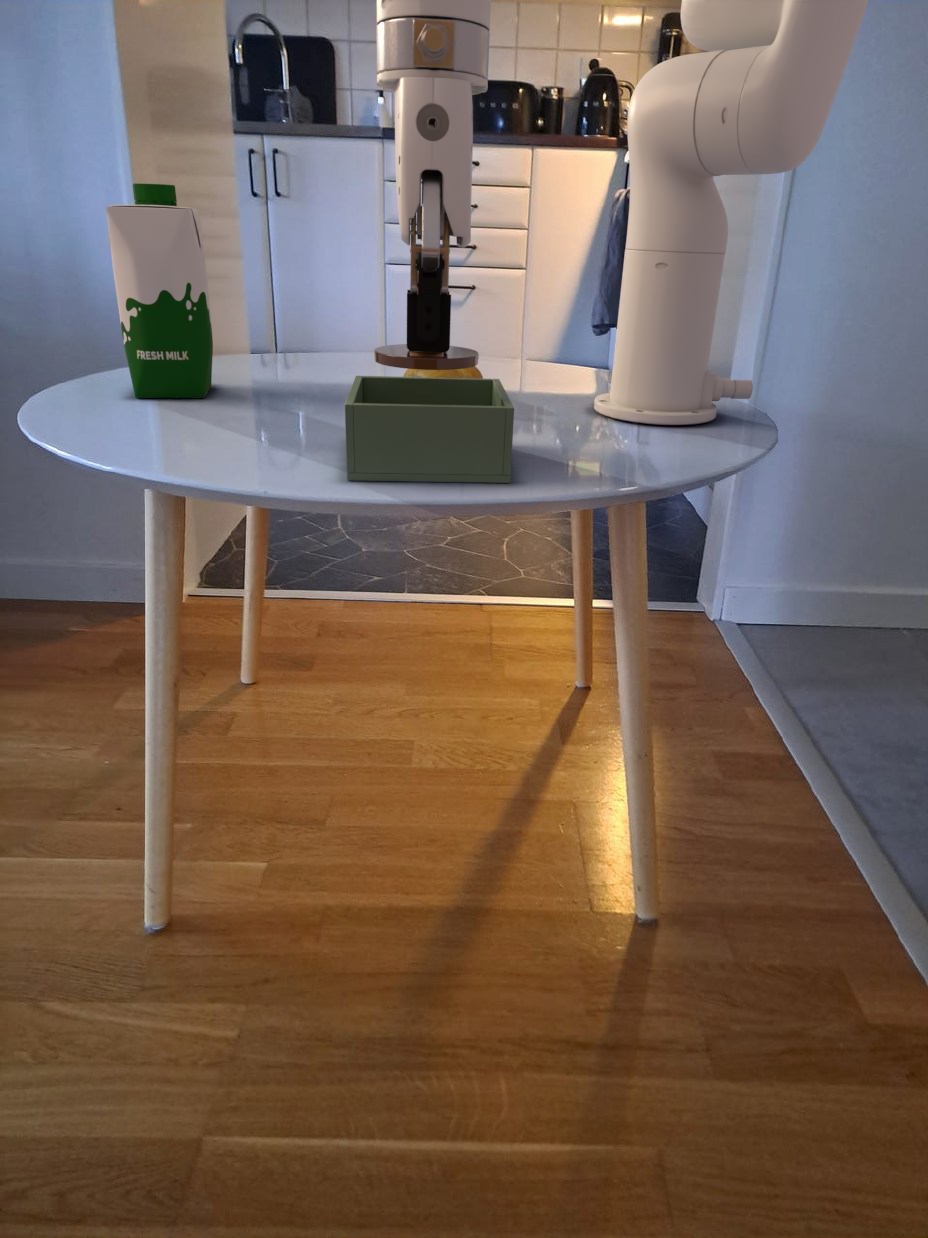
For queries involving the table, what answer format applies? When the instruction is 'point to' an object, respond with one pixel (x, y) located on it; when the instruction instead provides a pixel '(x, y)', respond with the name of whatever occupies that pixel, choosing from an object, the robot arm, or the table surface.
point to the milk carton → (162, 293)
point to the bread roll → (445, 373)
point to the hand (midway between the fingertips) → (427, 345)
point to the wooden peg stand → (426, 357)
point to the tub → (428, 430)
